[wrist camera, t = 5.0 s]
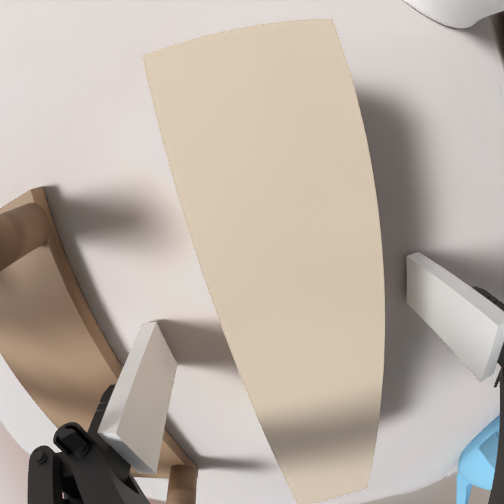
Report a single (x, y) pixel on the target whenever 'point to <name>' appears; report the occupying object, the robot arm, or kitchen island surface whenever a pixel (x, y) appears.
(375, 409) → the beige long block
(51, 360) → the rack
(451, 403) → the kitchen island surface
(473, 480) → the teapot
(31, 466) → the robot arm
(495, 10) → the mug
